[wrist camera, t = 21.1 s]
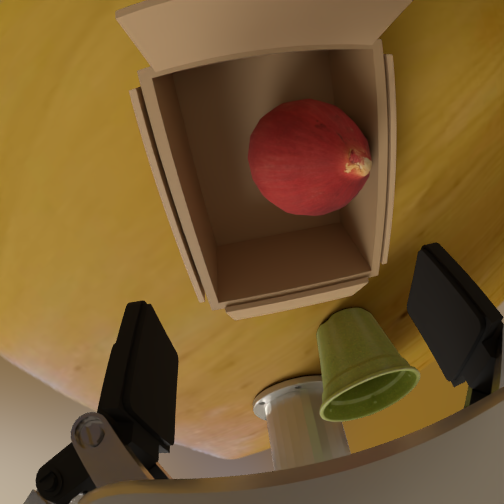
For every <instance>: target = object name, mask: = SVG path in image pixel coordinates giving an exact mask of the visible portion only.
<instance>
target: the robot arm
mask: <svg viewBox="0 0 504 504" xmlns="http://www.w3.org/2000/svg"><path fill="white" fill-rule="evenodd" d="M407 311H408V313H409V315H410V317H411V318H412V320H413V322H414V323H415V325H416V327H417V328H418V330H419V332H420V333H421V335H422V337H423V338H424V340H425V342H426V343H427V345H428V347H429V349H430V350H431V352H432V354H433V356H434V357H435V359H436V361H437V363H438V365H439V366H440V368H441V370H442V372H443V374H444V376H445V377H446V379H447V380H448V381H451V382H452V384H453V386H454V387H455V386H457V385H459V384H461V383H463V382H465V381H467V383H468V385H469V386H468V391H467V396H466V401H465V406H464V409H462V410H460V411H459V412H457V413H455V414H453V415H451V416H449V417H447V418H444V419H442V420H440V421H438V422H436V423H434V424H432V425H429V426H427V427H425V428H423V429H420V430H418V431H415V432H413V433H411V434H408V435H405V436H403V437H400V438H398V439H395V440H393V441H390V442H387V443H384V444H381V445H378V446H375V447H372V448H369V449H366V450H363V451H360V452H356V453H353V454H351V453H350V450H349V446H348V442H347V439H346V435H345V432H344V428H343V425H342V422H331V421H326V420H324V419H322V418H321V416H320V407H321V405H322V404H323V402H322V393H323V382H322V375H316V376H304V377H299V378H294V379H290V380H287V381H284V382H281V383H278V384H275V385H273V386H271V387H269V388H267V389H266V390H264V391H262V392H261V393H260V394H259V395H258V396H257V397H256V398H255V399H254V401H253V411H254V413H255V415H256V416H257V417H259V418H261V419H263V420H267V426H268V432H269V439H270V445H271V451H272V458H273V464H274V471H272V472H265V473H258V474H250V475H240V476H230V477H217V478H200V479H172V478H171V477H170V476H169V474H168V473H167V472H166V471H165V470H164V469H163V467H162V466H161V465H160V464H159V463H158V458H159V453H170V445H173V444H174V435H175V410H176V391H177V376H178V355H177V352H176V350H175V349H174V347H173V345H172V343H171V341H170V339H169V338H168V336H167V334H166V332H165V330H164V328H163V326H162V324H161V323H160V321H159V319H158V317H157V315H156V313H155V311H154V309H153V307H152V305H151V304H147V303H146V302H145V301H137V302H131V303H128V304H127V306H126V309H125V312H124V316H123V319H122V323H121V326H120V330H119V333H118V337H117V341H116V343H115V344H114V345H113V347H112V350H111V354H110V358H109V362H108V366H107V370H106V374H105V378H104V383H103V387H102V391H101V396H100V401H99V406H98V410H97V413H96V412H90V413H85V414H83V415H81V416H80V417H79V418H78V419H77V420H76V421H75V423H74V424H73V426H72V430H71V440H72V442H71V443H70V444H69V445H68V446H66V447H65V448H64V449H63V450H62V451H61V452H59V453H58V454H57V455H55V456H54V457H53V458H52V459H51V460H49V461H48V462H47V463H46V464H45V465H43V466H42V467H41V468H40V469H39V471H38V473H37V476H36V487H37V491H35V490H32V491H31V493H30V495H29V496H28V498H27V499H26V501H25V502H24V504H504V324H503V323H502V321H501V320H502V319H503V316H502V315H501V314H500V312H499V311H498V310H497V309H496V307H495V306H494V305H493V304H492V302H491V301H490V300H489V299H488V297H487V296H486V295H485V294H484V293H483V291H482V290H481V289H480V288H479V287H478V286H477V284H476V283H475V282H474V281H473V280H472V279H471V277H470V276H469V275H468V274H467V273H466V272H465V271H464V270H463V269H462V267H461V266H460V265H459V264H458V263H457V262H456V261H455V260H454V259H453V258H452V257H451V256H450V255H449V254H448V253H447V251H446V250H445V249H444V248H443V247H442V246H441V245H440V244H438V243H431V244H427V245H424V246H422V248H421V250H420V251H419V252H418V255H417V261H416V266H415V271H414V276H413V281H412V285H411V290H410V294H409V298H408V302H407Z"/></svg>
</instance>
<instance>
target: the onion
mask: <svg viewBox="0 0 504 504" xmlns="http://www.w3.org/2000/svg"><path fill="white" fill-rule="evenodd" d="M248 162H249V166H250V171H251V175H252V179H253V181H254V182H255V184H256V185H257V187H258V189H259V190H260V192H261V193H262V195H263V196H264V197H265V198H266V199H268V200H269V201H270V202H271V203H273V204H274V205H276V206H277V207H279V208H281V209H282V210H284V211H285V212H287V213H291V214H295V215H309V216H319V215H324V214H327V213H330V212H333V211H335V210H338V209H340V208H342V207H344V206H346V205H347V204H348V203H349V202H350V201H351V200H352V199H354V198H355V197H356V196H357V195H358V193H359V192H360V190H361V189H362V188H363V186H364V185H365V183H366V181H367V180H368V178H369V175H370V170H371V167H372V159H371V154H370V149H369V144H368V140H367V139H366V137H365V136H364V134H363V133H362V131H361V130H360V128H359V127H358V126H357V124H356V123H355V122H354V121H353V120H352V119H351V118H350V117H349V116H348V115H347V114H345V113H344V112H343V111H342V110H341V109H340V108H338V107H337V106H335V105H332V104H329V103H326V102H322V101H319V100H314V99H302V100H296V101H291V102H286V103H282V104H280V105H279V106H277V107H275V108H274V109H272V110H271V111H270V112H268V113H267V114H266V115H264V116H263V117H261V118H260V120H259V122H258V123H257V125H256V127H255V129H254V130H253V132H252V134H251V135H250V142H249V150H248Z"/></svg>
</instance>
